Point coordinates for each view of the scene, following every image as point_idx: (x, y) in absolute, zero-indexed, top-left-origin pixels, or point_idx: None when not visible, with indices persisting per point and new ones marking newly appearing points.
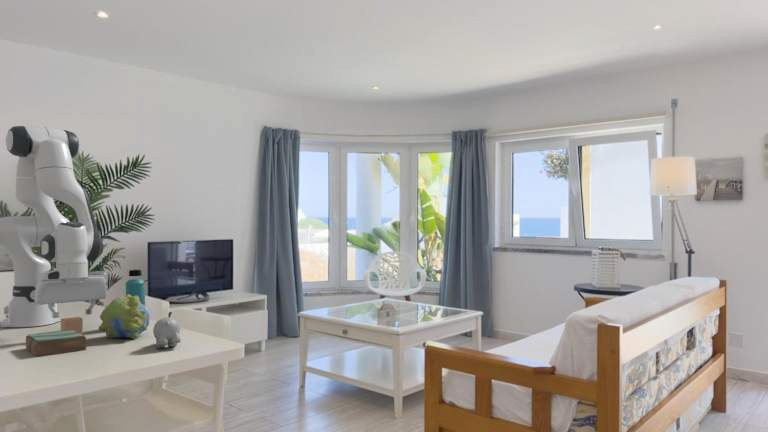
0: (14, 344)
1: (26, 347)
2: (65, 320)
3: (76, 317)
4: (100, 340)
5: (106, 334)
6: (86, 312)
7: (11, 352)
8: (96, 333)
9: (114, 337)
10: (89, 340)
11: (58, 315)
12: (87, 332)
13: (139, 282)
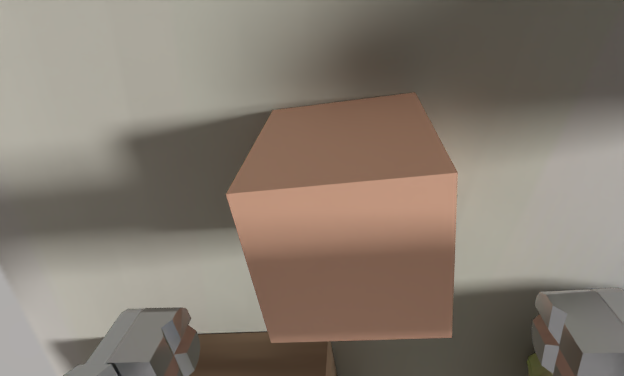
0: (5, 201)
1: None
2: (277, 339)
3: (413, 244)
4: (471, 367)
5: (529, 374)
6: (547, 347)
7: None
8: (565, 128)
9: None
10: None
11: (190, 372)
12: (528, 10)
13: None
